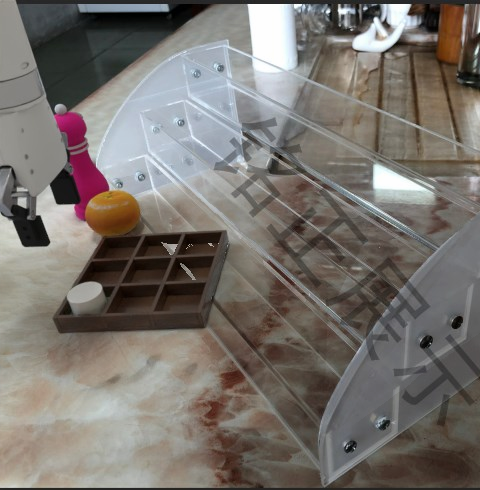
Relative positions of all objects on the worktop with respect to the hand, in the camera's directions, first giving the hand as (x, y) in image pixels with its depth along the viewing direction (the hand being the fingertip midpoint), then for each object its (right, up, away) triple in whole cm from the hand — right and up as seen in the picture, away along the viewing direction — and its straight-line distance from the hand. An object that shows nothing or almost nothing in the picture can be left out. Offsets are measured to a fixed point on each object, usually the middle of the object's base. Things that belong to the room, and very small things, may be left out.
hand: (54, 223), depth 74 cm
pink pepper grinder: (-7, +3, +33) cm, 34 cm away
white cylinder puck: (+2, -12, +8) cm, 14 cm away
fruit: (-1, 0, +27) cm, 27 cm away
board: (+8, -8, +13) cm, 18 cm away
